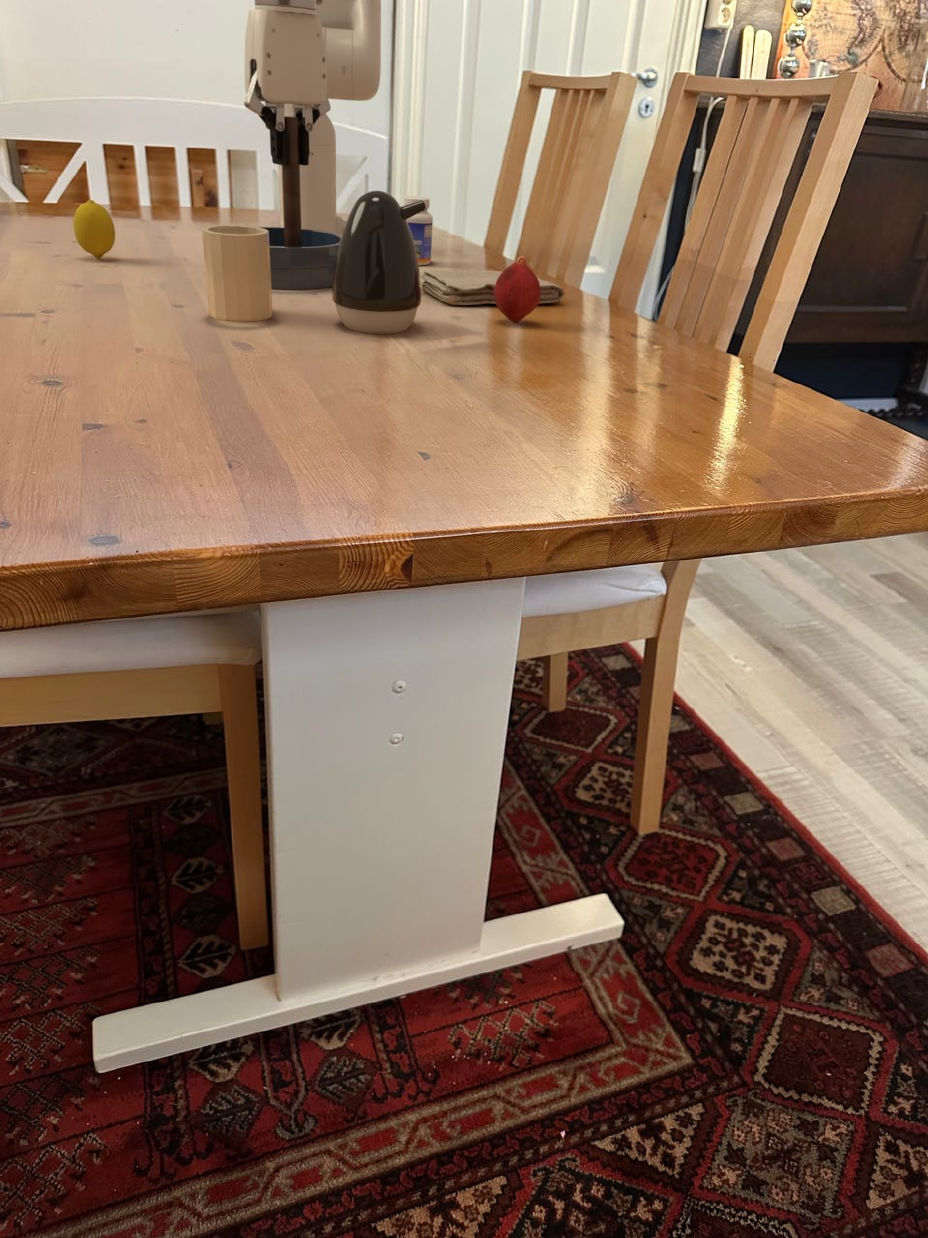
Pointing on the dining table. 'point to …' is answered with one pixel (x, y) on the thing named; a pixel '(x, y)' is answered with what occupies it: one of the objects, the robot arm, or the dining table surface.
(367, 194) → the pump dispenser
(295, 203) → the stick
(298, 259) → the bowl
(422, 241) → the pill bottle
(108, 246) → the lemon
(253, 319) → the crock
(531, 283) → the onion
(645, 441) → the dining table surface
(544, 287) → the washcloth
